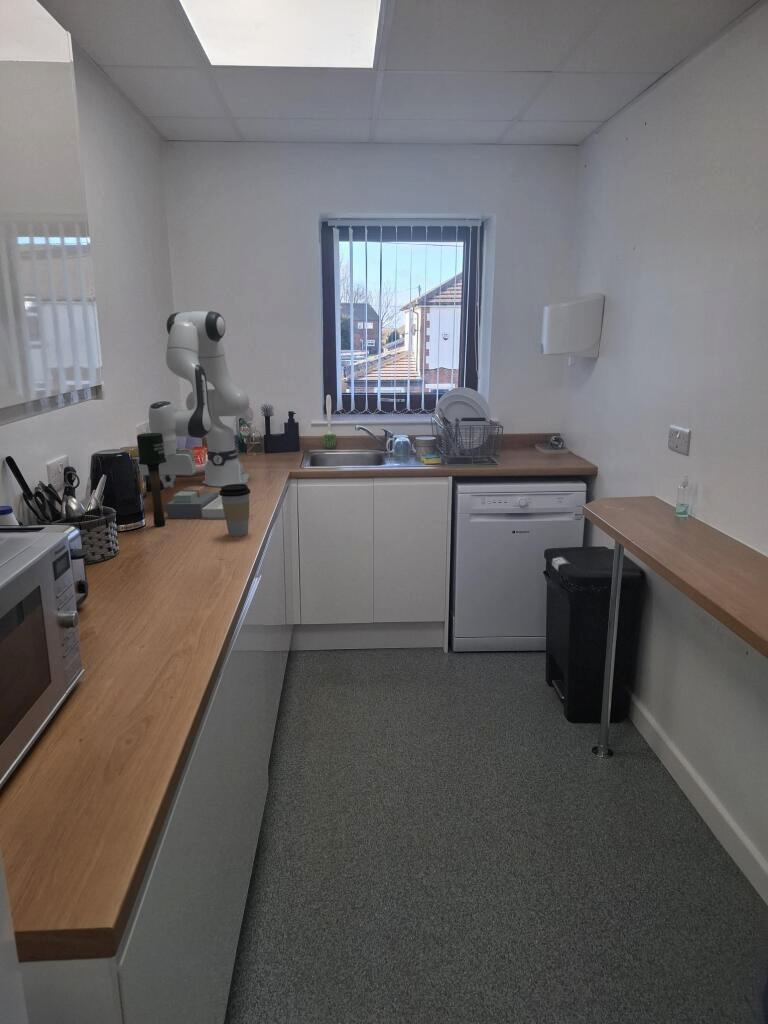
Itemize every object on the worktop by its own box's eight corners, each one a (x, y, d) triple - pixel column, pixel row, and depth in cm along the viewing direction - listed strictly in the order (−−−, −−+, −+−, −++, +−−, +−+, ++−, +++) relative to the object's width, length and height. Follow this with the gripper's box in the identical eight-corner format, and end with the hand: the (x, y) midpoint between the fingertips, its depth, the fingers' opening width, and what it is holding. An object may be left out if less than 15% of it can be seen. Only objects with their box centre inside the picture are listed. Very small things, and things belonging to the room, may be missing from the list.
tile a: (189, 493, 241) (188, 486, 241) (205, 493, 241) (204, 486, 240) (183, 497, 236) (182, 490, 235) (199, 497, 235) (198, 490, 234)
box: (221, 504, 245) (220, 495, 244) (248, 504, 244) (247, 495, 243) (202, 519, 225) (201, 509, 224) (231, 519, 224) (230, 509, 224)
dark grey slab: (187, 505, 245) (186, 491, 244) (219, 505, 244) (218, 491, 242) (167, 518, 227) (166, 504, 226) (202, 518, 226) (200, 504, 225)
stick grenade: (165, 529, 214) (154, 436, 206) (140, 528, 216) (129, 436, 208) (178, 522, 222) (168, 432, 214) (154, 521, 224) (144, 432, 216)
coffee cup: (259, 530, 210) (255, 484, 206) (243, 539, 202) (239, 490, 198) (233, 528, 213) (229, 482, 209) (216, 536, 205) (212, 489, 201)
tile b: (181, 498, 234) (180, 491, 233) (197, 498, 233) (196, 491, 233) (174, 502, 228) (173, 495, 227) (191, 502, 227) (190, 495, 227)
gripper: (196, 447, 237) (200, 485, 240) (141, 447, 239) (145, 485, 242) (190, 449, 231) (193, 489, 234) (133, 450, 232) (137, 489, 236)
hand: (168, 487), depth 238 cm, fingers closed
